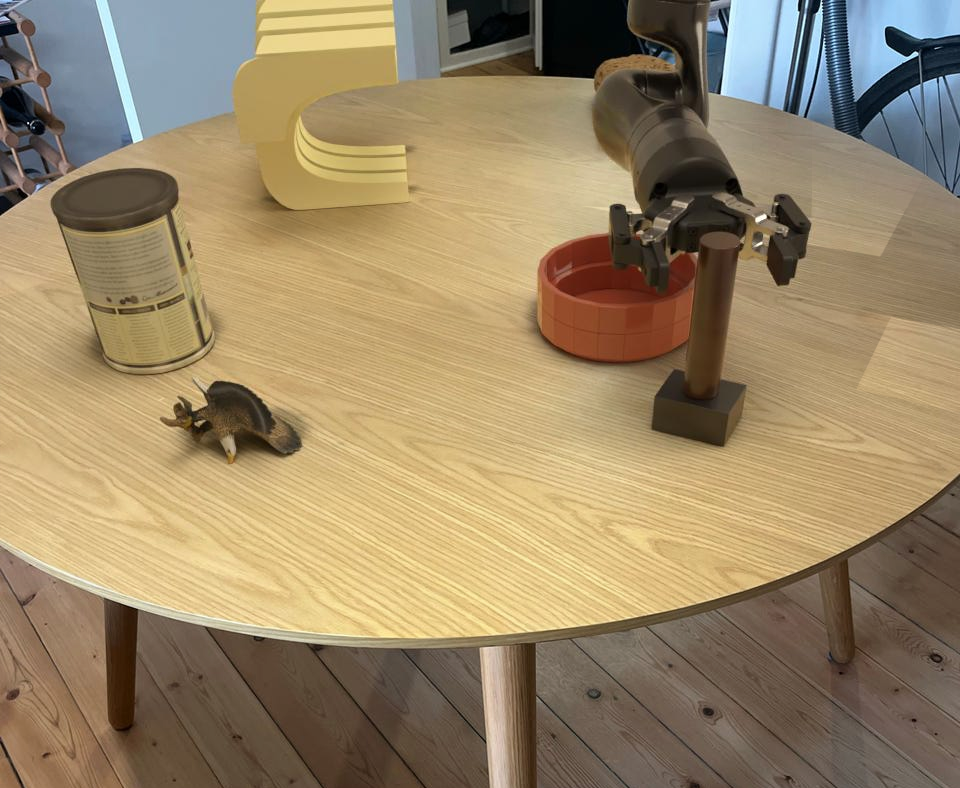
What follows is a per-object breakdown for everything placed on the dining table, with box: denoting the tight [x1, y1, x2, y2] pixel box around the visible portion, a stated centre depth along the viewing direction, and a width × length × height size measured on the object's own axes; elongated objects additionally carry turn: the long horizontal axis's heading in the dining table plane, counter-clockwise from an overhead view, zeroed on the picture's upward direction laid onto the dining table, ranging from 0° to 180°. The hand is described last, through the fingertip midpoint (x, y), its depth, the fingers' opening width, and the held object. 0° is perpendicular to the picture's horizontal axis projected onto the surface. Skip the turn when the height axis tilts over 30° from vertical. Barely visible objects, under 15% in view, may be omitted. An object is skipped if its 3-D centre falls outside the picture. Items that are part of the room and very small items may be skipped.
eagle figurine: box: [159, 376, 303, 464], centre depth 80 cm, size 8×7×9 cm
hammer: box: [651, 232, 747, 447], centre depth 76 cm, size 6×4×15 cm
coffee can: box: [49, 167, 216, 375], centre depth 89 cm, size 10×10×14 cm
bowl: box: [536, 232, 698, 363], centre depth 91 cm, size 14×14×6 cm
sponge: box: [593, 54, 675, 93], centre depth 126 cm, size 13×8×20 cm
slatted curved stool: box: [231, 0, 410, 211], centre depth 113 cm, size 30×16×18 cm, turn 4°
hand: (725, 276), depth 71 cm, fingers open, 8 cm apart
